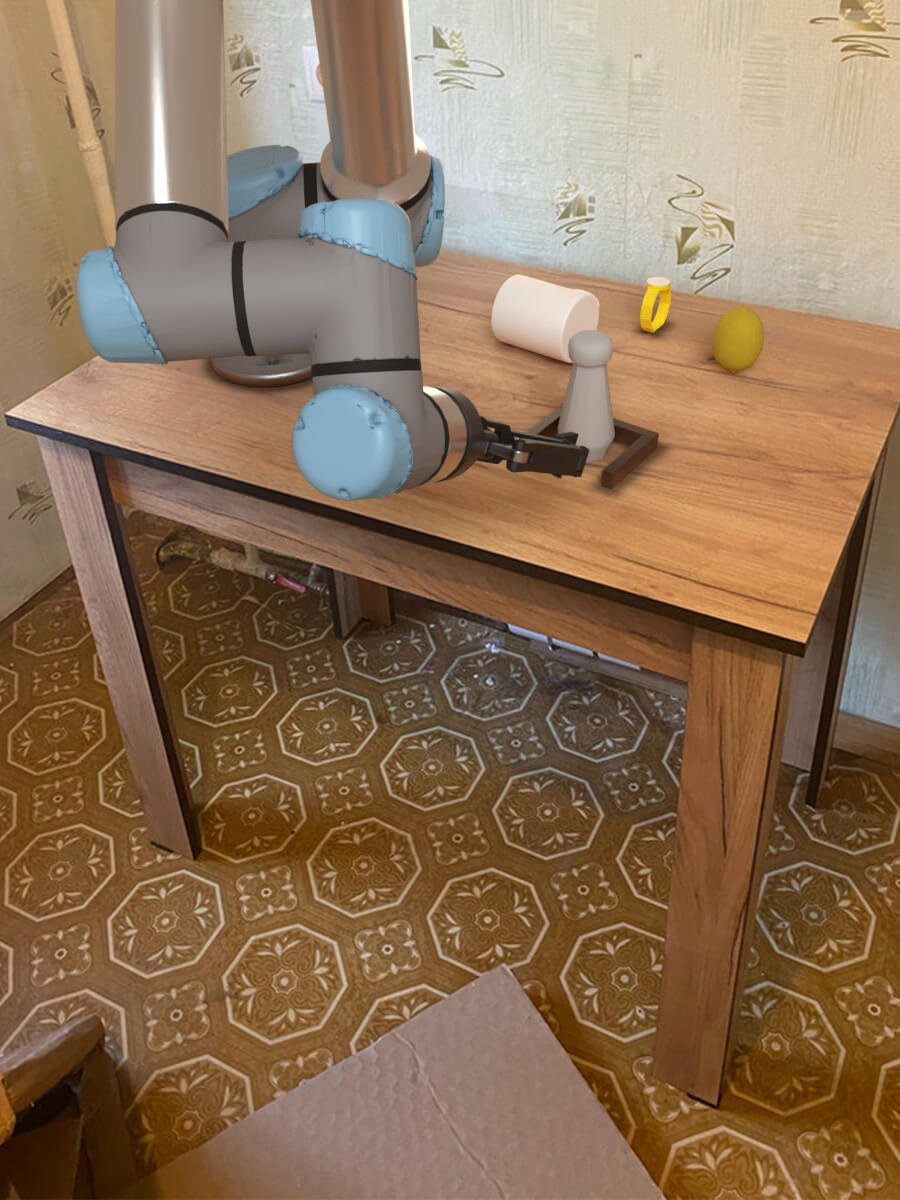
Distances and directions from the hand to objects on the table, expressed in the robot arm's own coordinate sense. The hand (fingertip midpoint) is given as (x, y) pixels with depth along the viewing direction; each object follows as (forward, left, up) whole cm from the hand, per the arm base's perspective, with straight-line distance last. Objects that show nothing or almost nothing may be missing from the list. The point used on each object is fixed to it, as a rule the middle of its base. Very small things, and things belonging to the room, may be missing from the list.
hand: (504, 425), depth 105 cm
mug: (-13, +29, -7) cm, 32 cm away
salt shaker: (+3, +10, -7) cm, 13 cm away
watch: (-5, +39, -7) cm, 40 cm away
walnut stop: (+3, +11, -7) cm, 13 cm away
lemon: (+8, +34, -7) cm, 35 cm away
